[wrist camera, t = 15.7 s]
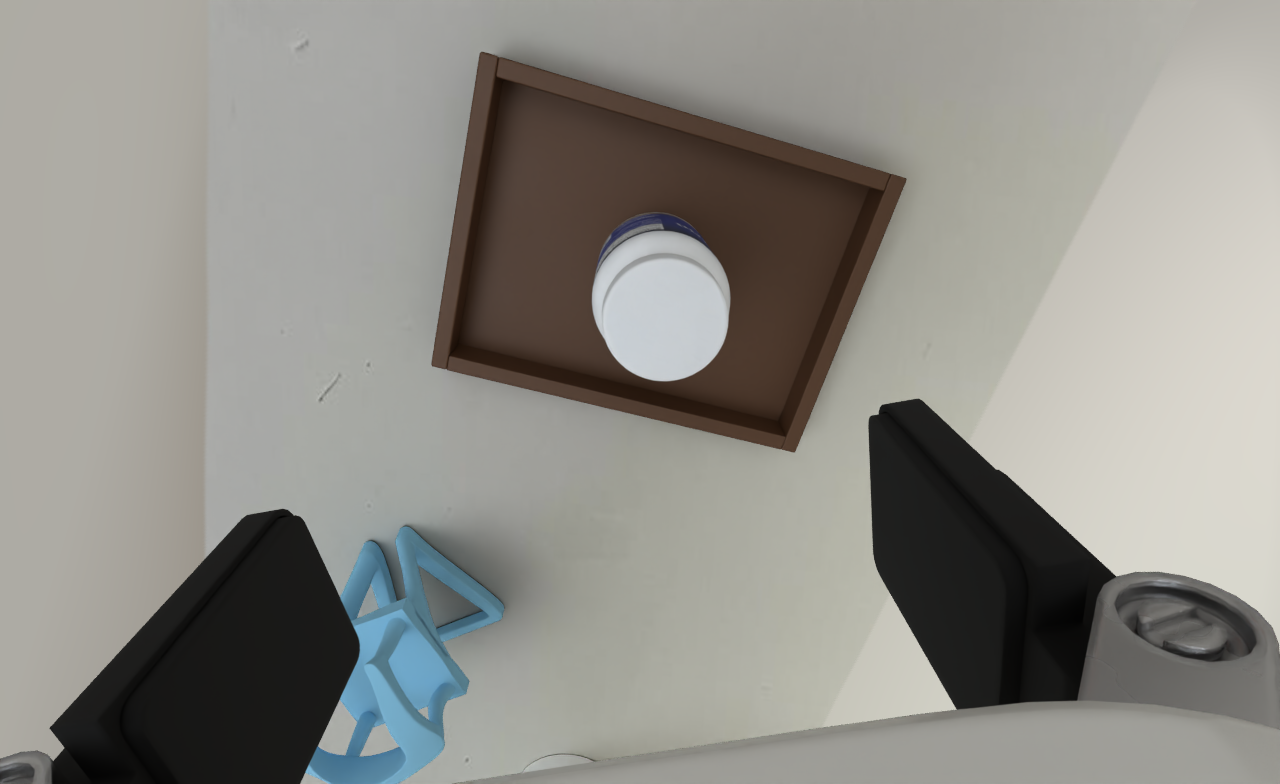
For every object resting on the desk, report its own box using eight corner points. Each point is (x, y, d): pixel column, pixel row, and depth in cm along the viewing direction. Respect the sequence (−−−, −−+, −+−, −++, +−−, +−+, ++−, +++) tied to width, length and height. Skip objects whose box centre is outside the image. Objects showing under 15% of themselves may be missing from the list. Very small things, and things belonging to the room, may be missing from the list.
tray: (443, 350, 35) (430, 366, 32) (491, 56, 29) (479, 50, 27) (784, 432, 37) (795, 453, 35) (886, 174, 32) (907, 178, 29)
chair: (440, 510, 38) (365, 666, 27) (507, 609, 41) (464, 786, 30) (331, 555, 40) (217, 722, 28) (404, 648, 43) (326, 833, 31)
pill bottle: (729, 288, 33) (769, 352, 24) (633, 340, 34) (635, 421, 25) (676, 187, 31) (698, 214, 22) (576, 246, 32) (556, 295, 23)
